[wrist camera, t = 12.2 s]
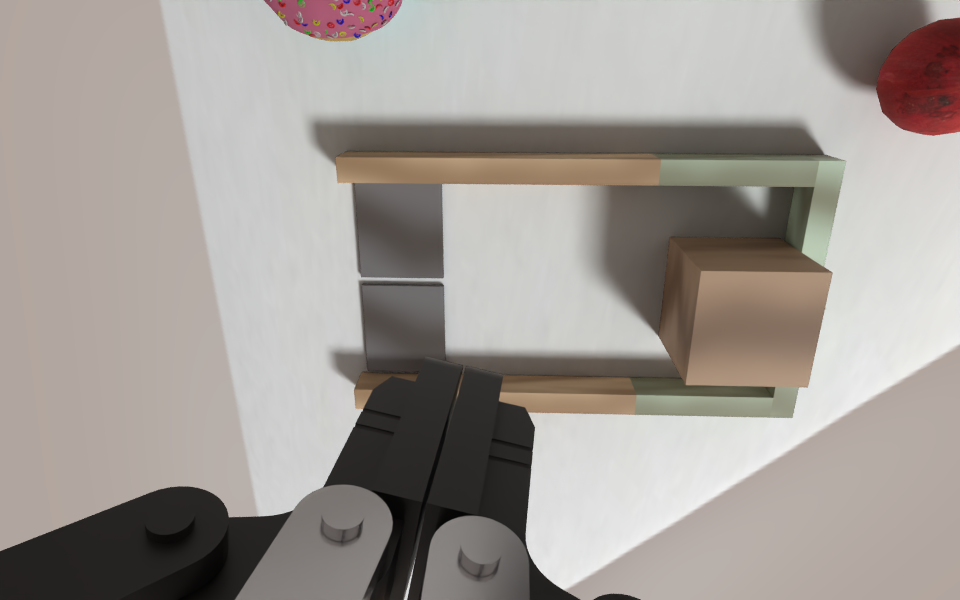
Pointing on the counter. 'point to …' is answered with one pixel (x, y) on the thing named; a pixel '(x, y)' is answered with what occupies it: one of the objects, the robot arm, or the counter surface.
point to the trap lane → (419, 177)
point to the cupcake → (335, 16)
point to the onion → (924, 80)
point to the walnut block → (742, 311)
